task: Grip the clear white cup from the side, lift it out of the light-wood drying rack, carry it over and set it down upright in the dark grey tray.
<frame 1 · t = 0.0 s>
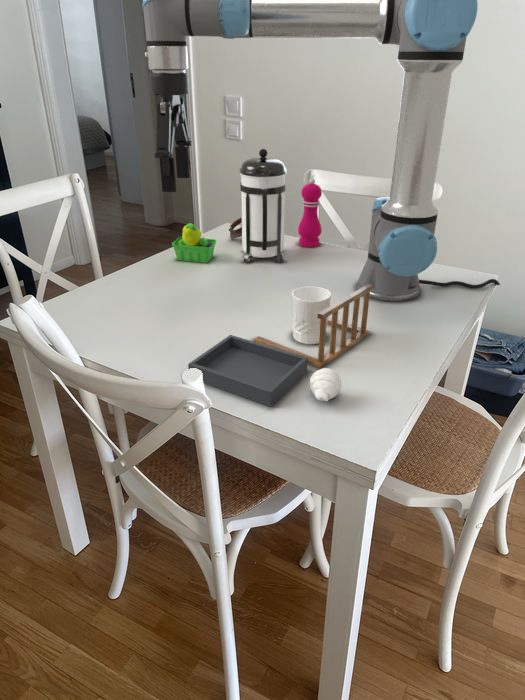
hand: (176, 184, 114), 28 cm above the table, tool pointing down, fingers open, 13 cm apart
pepper mill: (309, 244, 168), on the table
drying rack: (309, 337, 114), on the table
fruit basket: (194, 260, 155), on the table
pottery mug: (246, 240, 172), on the table
white cup: (309, 338, 114), on the table
coffee press: (264, 258, 157), on the table
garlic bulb: (323, 402, 93), on the table
dark grey tray: (248, 374, 100), on the table
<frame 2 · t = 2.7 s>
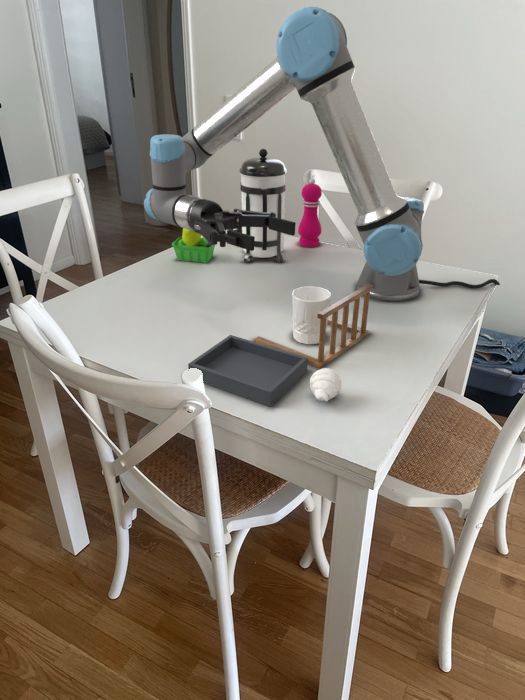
hand: (274, 236, 109), 20 cm above the table, tool horizontal, fingers open, 13 cm apart
nothing on the table moved.
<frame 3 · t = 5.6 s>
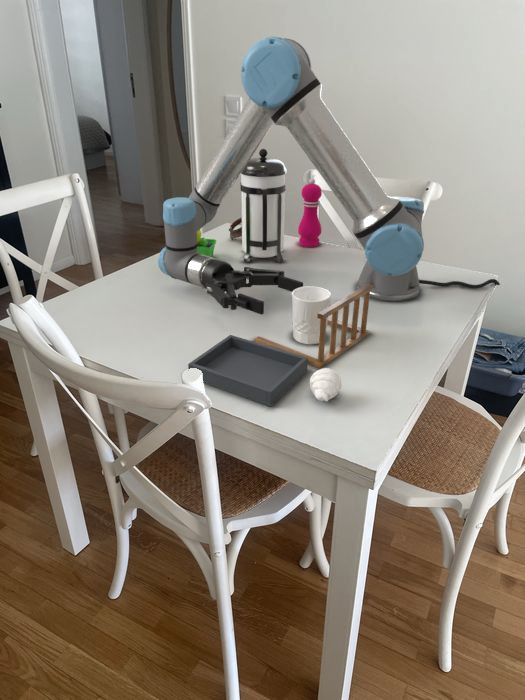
hand: (283, 298, 114), 7 cm above the table, tool horizontal, fingers open, 13 cm apart
nothing on the table moved.
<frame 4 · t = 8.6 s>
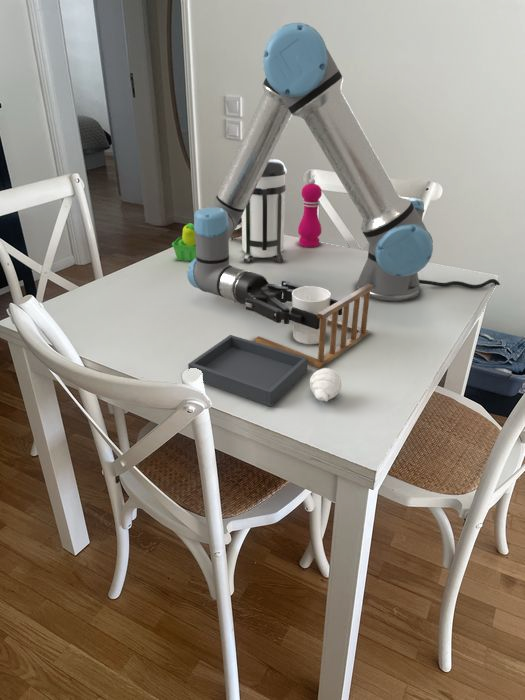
hand: (330, 315, 108), 6 cm above the table, tool horizontal, fingers closed on white cup, 8 cm apart
white cup: (309, 337, 114), on the table, touching gripper
everything else where it was.
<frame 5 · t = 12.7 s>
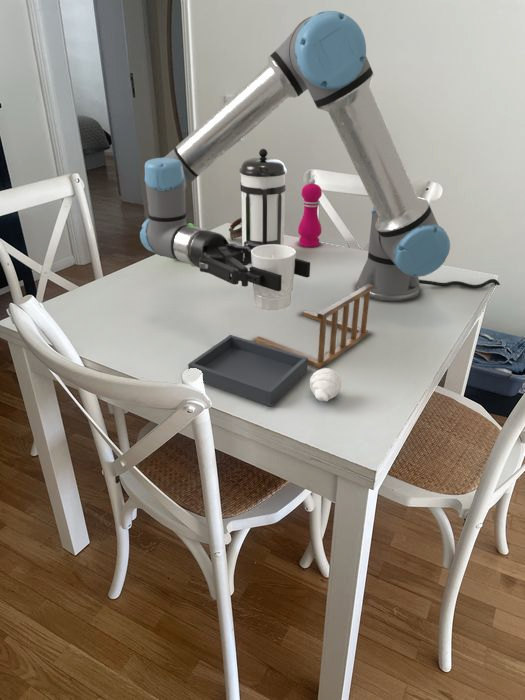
hand: (294, 276, 93), 19 cm above the table, tool horizontal, fingers closed on white cup, 8 cm apart
white cup: (272, 304, 99), point 12 cm above the table, touching gripper
everything else where it was.
when the fingers open (7 cm above the table, at t = 17.2 s): white cup stays where it is, resting on dark grey tray.
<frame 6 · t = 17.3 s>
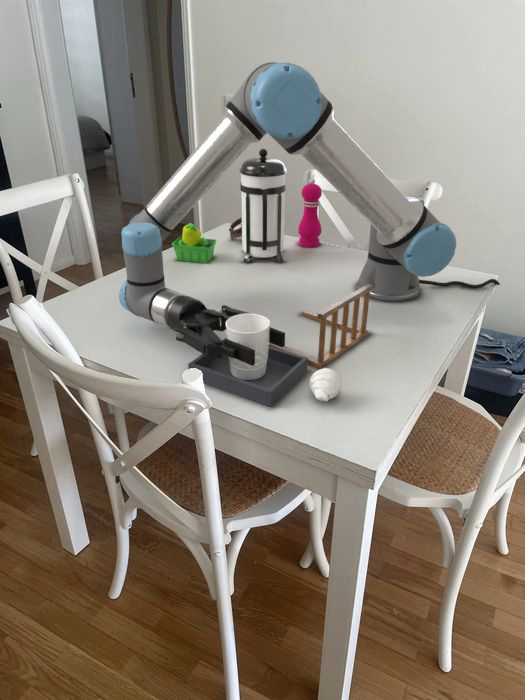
hand: (268, 348, 94), 7 cm above the table, tool horizontal, fingers open, 8 cm apart
white cup: (248, 371, 100), point 1 cm above the table, touching dark grey tray
everything else where it was.
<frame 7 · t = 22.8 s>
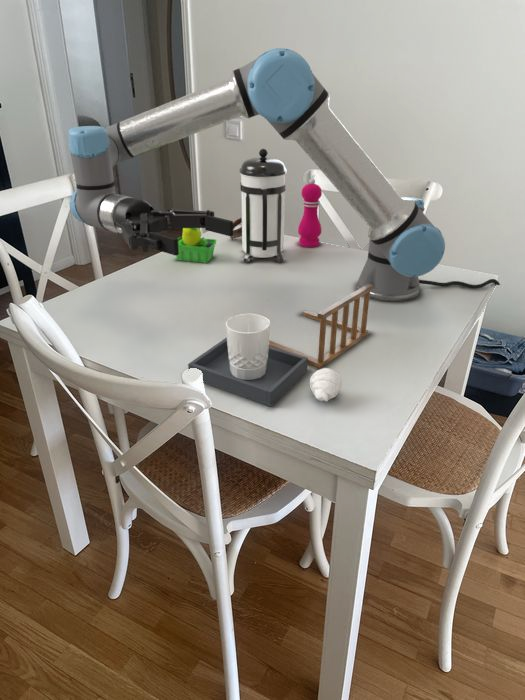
hand: (205, 237, 94), 24 cm above the table, tool horizontal, fingers open, 13 cm apart
nothing on the table moved.
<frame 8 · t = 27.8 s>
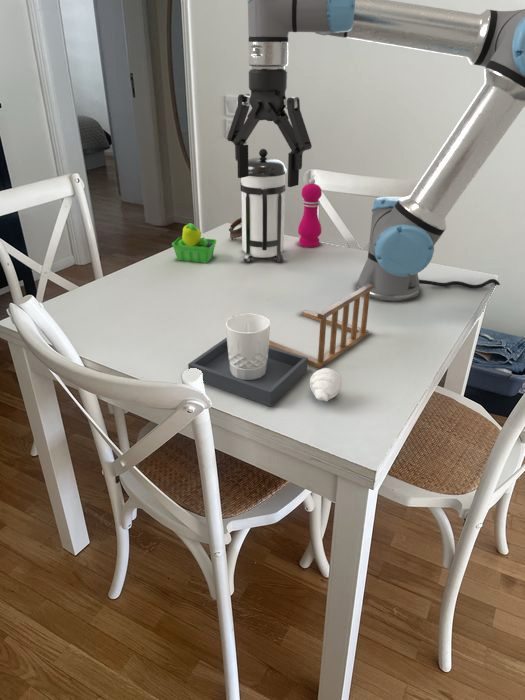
hand: (267, 181, 114), 29 cm above the table, tool pointing down, fingers open, 13 cm apart
nothing on the table moved.
at the end: white cup 0.1 cm from the dark grey tray (horizontally); white cup point 0.6 cm above the table; white cup tilted 0° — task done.
